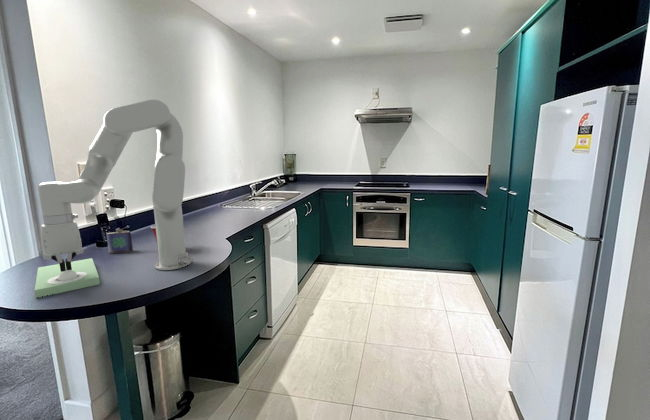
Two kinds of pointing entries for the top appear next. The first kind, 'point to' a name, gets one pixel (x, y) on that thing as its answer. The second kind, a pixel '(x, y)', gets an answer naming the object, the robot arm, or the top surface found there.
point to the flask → (119, 241)
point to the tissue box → (51, 285)
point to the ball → (67, 275)
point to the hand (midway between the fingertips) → (66, 272)
